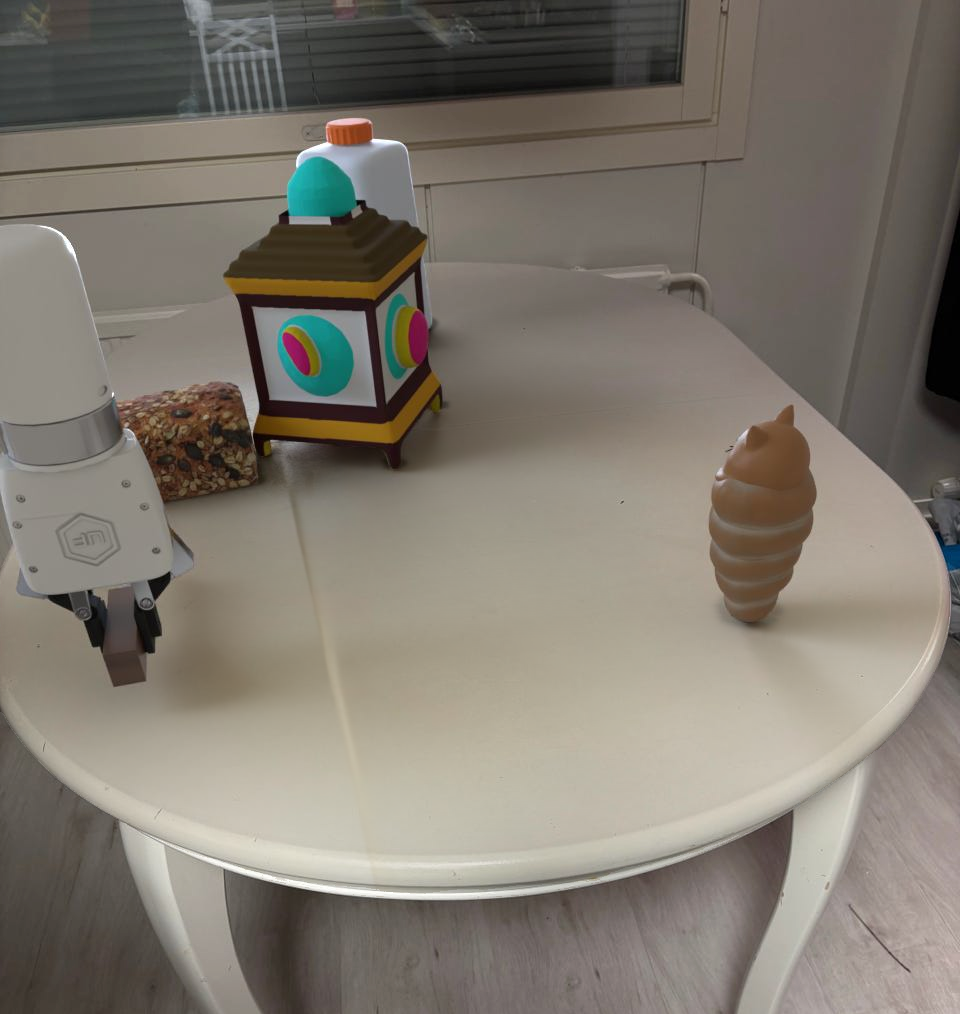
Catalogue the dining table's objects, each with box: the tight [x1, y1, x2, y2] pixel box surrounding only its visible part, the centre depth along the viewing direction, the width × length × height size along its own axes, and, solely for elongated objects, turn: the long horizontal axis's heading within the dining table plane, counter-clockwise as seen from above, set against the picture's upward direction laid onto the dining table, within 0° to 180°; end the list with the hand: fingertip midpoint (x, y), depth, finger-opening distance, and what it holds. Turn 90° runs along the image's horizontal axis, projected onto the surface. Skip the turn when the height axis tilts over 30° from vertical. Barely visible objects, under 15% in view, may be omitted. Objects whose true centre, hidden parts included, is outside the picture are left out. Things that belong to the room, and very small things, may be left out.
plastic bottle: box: [295, 117, 433, 330], centre depth 132 cm, size 15×15×28 cm
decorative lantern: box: [222, 156, 444, 471], centre depth 105 cm, size 20×20×30 cm
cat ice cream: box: [708, 404, 818, 623], centre depth 75 cm, size 9×8×18 cm
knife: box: [102, 583, 148, 688], centre depth 78 cm, size 20×2×3 cm, turn 15°
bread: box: [116, 380, 260, 503], centre depth 102 cm, size 19×11×10 cm, turn 107°
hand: (130, 645), depth 75 cm, fingers closed on knife, 2 cm apart
